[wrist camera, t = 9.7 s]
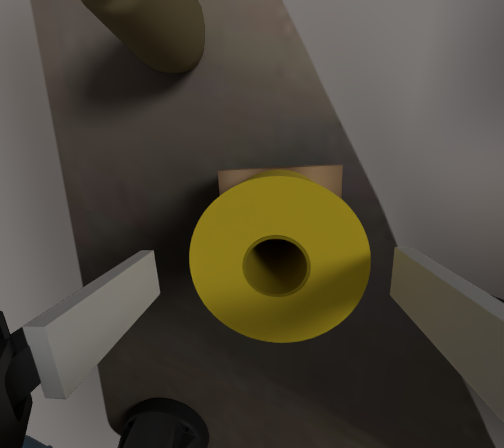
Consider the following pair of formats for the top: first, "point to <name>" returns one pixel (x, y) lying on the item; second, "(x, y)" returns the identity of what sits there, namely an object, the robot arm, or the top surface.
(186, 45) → the squeeze bottle
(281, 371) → the top surface
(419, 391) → the top surface
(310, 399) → the top surface
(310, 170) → the tower block top
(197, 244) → the yellow toilet paper roll
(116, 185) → the top surface
